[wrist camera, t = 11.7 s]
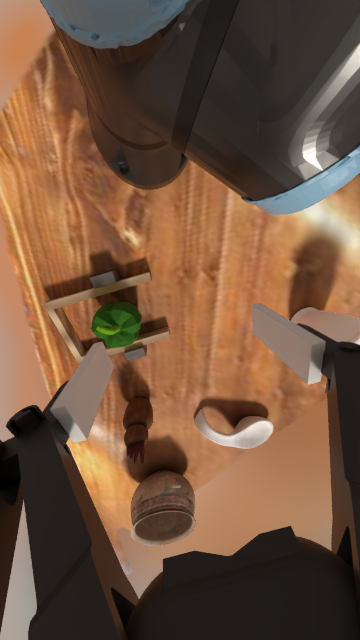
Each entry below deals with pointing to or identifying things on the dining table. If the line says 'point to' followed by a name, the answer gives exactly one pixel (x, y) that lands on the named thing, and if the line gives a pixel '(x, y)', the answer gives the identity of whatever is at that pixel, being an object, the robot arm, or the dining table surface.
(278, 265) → the dining table surface
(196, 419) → the spoon rest
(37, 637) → the robot arm
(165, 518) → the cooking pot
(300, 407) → the dining table surface
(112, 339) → the bell pepper
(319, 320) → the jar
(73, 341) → the tan wooden u-shaped frame
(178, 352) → the dining table surface
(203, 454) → the dining table surface
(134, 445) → the wooden figurine
